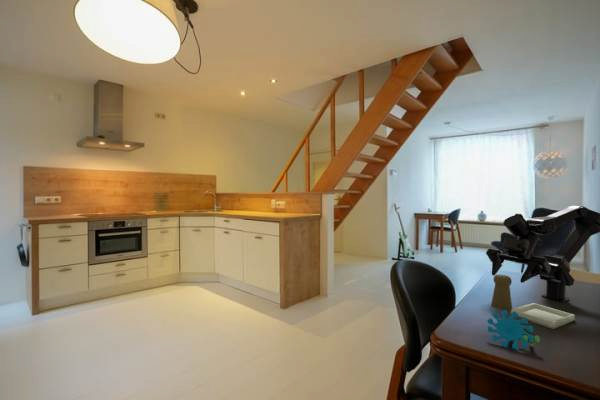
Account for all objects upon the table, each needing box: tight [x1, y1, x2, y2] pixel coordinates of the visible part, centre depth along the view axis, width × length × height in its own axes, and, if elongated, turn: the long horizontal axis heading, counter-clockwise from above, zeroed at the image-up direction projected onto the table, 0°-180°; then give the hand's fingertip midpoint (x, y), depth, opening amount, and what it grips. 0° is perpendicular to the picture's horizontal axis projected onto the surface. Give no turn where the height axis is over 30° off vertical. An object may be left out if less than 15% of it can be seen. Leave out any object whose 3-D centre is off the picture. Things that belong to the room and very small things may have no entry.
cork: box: [491, 274, 513, 311], centre depth 101 cm, size 6×6×11 cm
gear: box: [487, 309, 541, 351], centre depth 76 cm, size 11×6×10 cm
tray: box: [510, 302, 576, 330], centre depth 93 cm, size 14×11×2 cm
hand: (506, 278), depth 103 cm, fingers open, 9 cm apart
